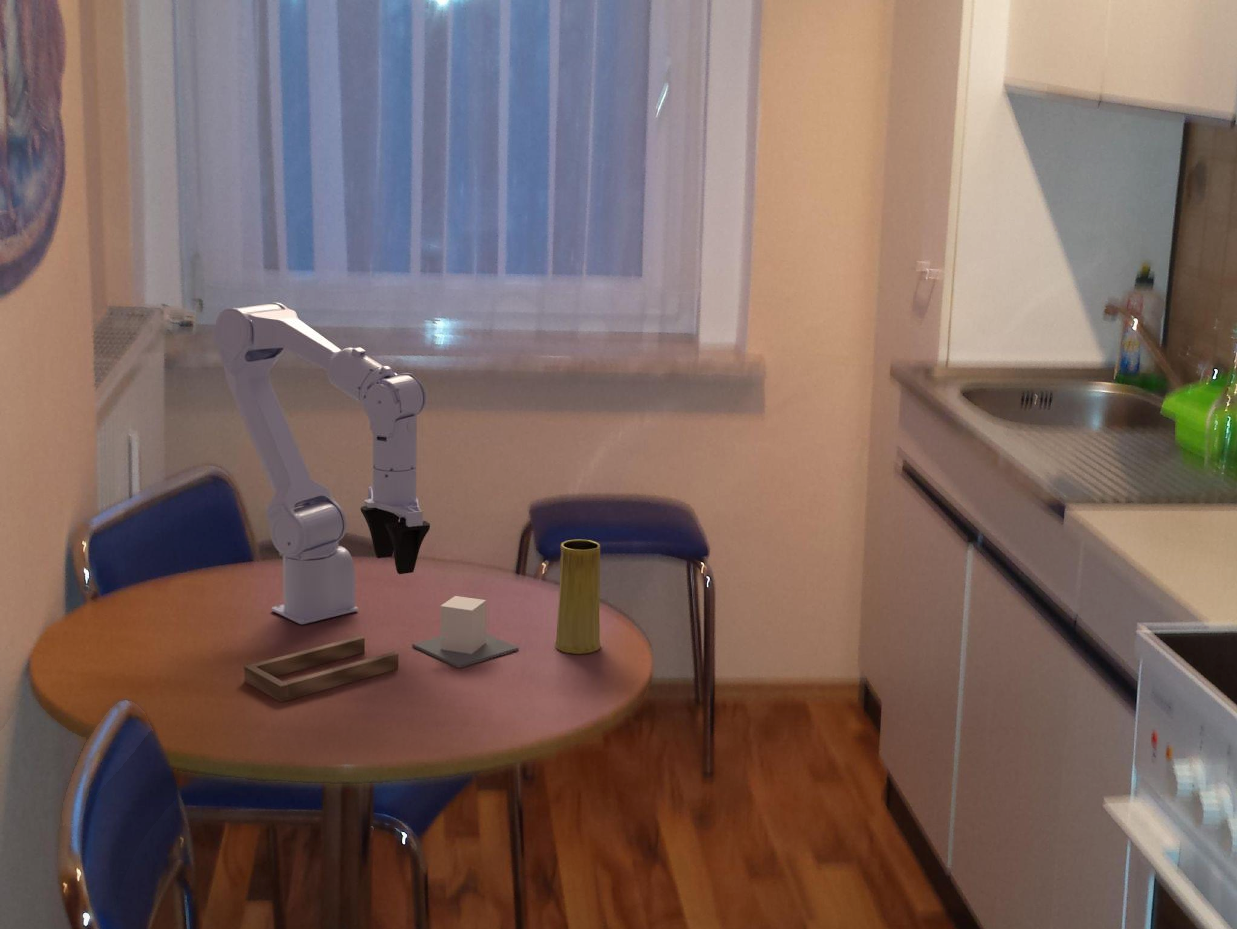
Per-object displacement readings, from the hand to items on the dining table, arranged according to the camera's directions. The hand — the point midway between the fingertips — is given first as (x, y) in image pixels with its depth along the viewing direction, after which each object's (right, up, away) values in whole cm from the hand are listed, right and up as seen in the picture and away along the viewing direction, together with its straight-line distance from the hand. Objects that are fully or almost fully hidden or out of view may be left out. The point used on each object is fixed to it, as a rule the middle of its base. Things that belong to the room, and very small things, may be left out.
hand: (394, 564), depth 191 cm
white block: (+10, -11, -3) cm, 15 cm away
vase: (+25, -11, 0) cm, 27 cm away
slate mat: (+10, -11, -2) cm, 15 cm away
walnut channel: (-7, -13, -13) cm, 20 cm away
